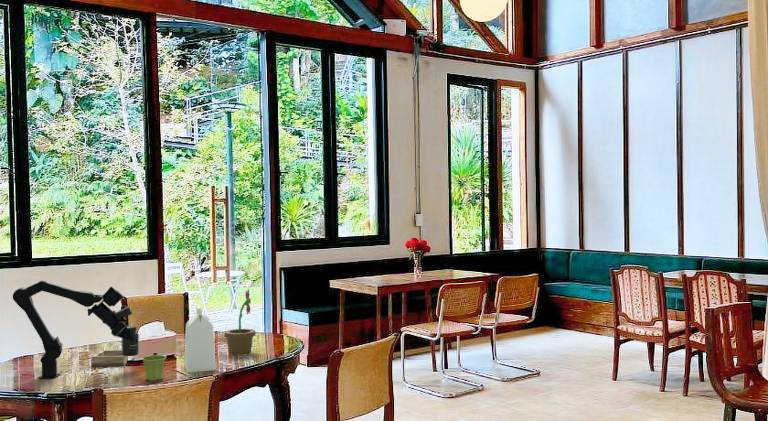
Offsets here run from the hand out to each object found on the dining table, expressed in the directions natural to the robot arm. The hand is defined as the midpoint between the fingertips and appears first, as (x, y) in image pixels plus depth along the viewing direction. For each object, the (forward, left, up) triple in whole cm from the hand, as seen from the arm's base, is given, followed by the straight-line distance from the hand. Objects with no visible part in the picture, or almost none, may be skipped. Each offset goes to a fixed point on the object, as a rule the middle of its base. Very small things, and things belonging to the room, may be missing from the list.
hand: (133, 339), depth 309 cm
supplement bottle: (-1, +1, -7) cm, 7 cm away
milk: (+1, -28, -13) cm, 31 cm away
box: (+16, +14, -13) cm, 25 cm away
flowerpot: (+31, -40, -13) cm, 52 cm away
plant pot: (-17, -14, -13) cm, 26 cm away
